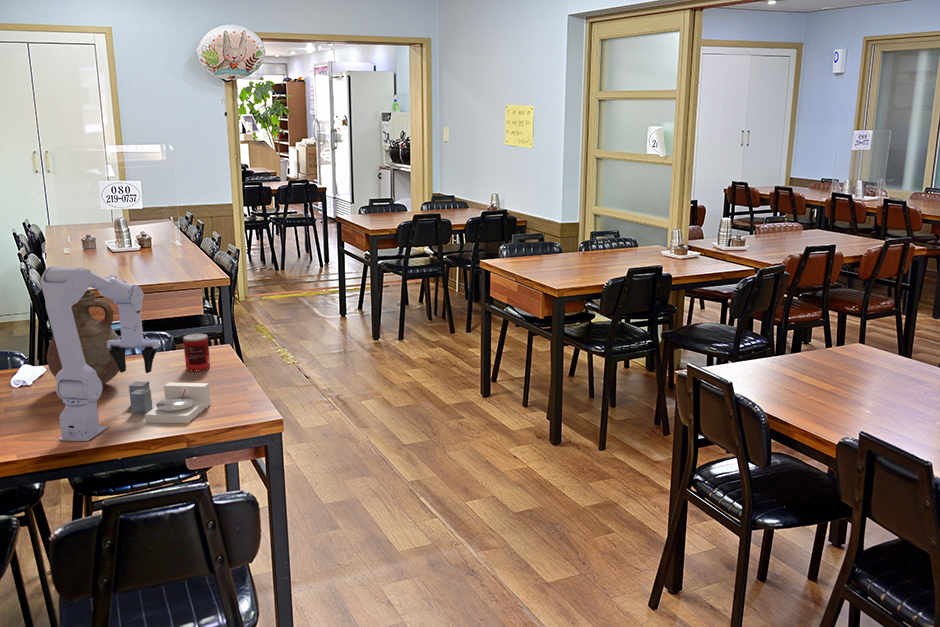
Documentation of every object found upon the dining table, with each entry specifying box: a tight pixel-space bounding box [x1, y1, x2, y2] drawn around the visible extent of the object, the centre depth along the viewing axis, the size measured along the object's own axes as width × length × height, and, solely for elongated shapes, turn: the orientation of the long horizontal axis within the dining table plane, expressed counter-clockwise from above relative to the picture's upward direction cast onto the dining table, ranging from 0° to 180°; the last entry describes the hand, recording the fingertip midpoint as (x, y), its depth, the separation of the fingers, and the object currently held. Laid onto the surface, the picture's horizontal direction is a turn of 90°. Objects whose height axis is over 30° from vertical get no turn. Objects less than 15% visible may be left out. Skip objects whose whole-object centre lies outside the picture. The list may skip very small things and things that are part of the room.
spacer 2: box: [129, 389, 153, 416], centre depth 223 cm, size 4×4×6 cm
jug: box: [46, 289, 121, 389], centre depth 242 cm, size 22×22×30 cm
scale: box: [144, 382, 211, 424], centre depth 221 cm, size 15×12×6 cm
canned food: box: [182, 333, 211, 372], centre depth 263 cm, size 8×8×11 cm
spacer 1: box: [128, 380, 151, 402], centre depth 230 cm, size 4×4×6 cm
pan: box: [155, 397, 195, 411], centre depth 220 cm, size 10×10×1 cm
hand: (135, 371), depth 228 cm, fingers open, 7 cm apart
